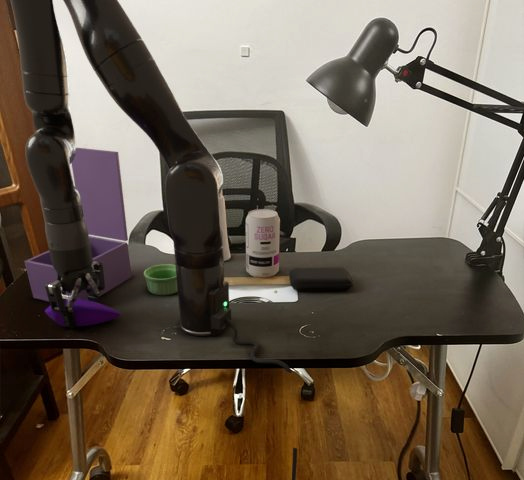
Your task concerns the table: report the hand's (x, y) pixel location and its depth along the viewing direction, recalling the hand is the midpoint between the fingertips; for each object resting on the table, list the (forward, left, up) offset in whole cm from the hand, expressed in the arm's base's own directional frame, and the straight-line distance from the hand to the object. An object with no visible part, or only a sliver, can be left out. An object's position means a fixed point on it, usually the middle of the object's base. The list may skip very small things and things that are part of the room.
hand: (83, 319), depth 107 cm
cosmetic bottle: (-8, -44, -1) cm, 45 cm away
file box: (+12, -14, -1) cm, 18 cm away
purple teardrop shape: (0, 0, -1) cm, 1 cm away
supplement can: (-23, -40, -1) cm, 46 cm away
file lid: (+12, -24, +18) cm, 32 cm away
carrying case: (-38, -39, -1) cm, 55 cm away
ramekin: (-6, -21, -1) cm, 22 cm away
